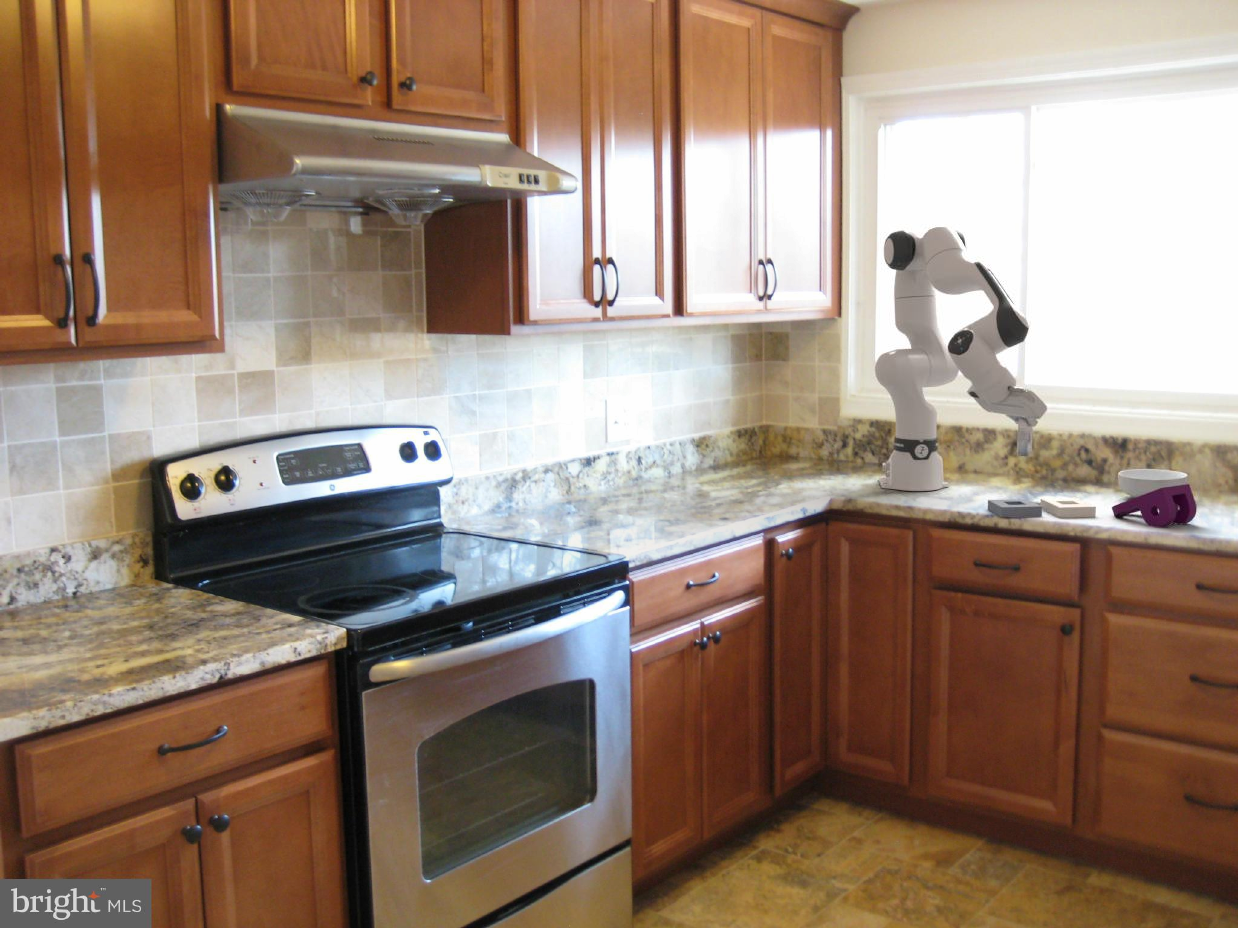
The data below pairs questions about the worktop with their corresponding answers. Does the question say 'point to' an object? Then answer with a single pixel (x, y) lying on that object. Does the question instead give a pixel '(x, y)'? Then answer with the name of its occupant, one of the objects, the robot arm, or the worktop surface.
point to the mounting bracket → (1162, 506)
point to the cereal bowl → (1149, 480)
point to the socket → (1015, 508)
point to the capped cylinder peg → (1024, 437)
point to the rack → (1068, 507)
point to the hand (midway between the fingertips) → (1027, 423)
